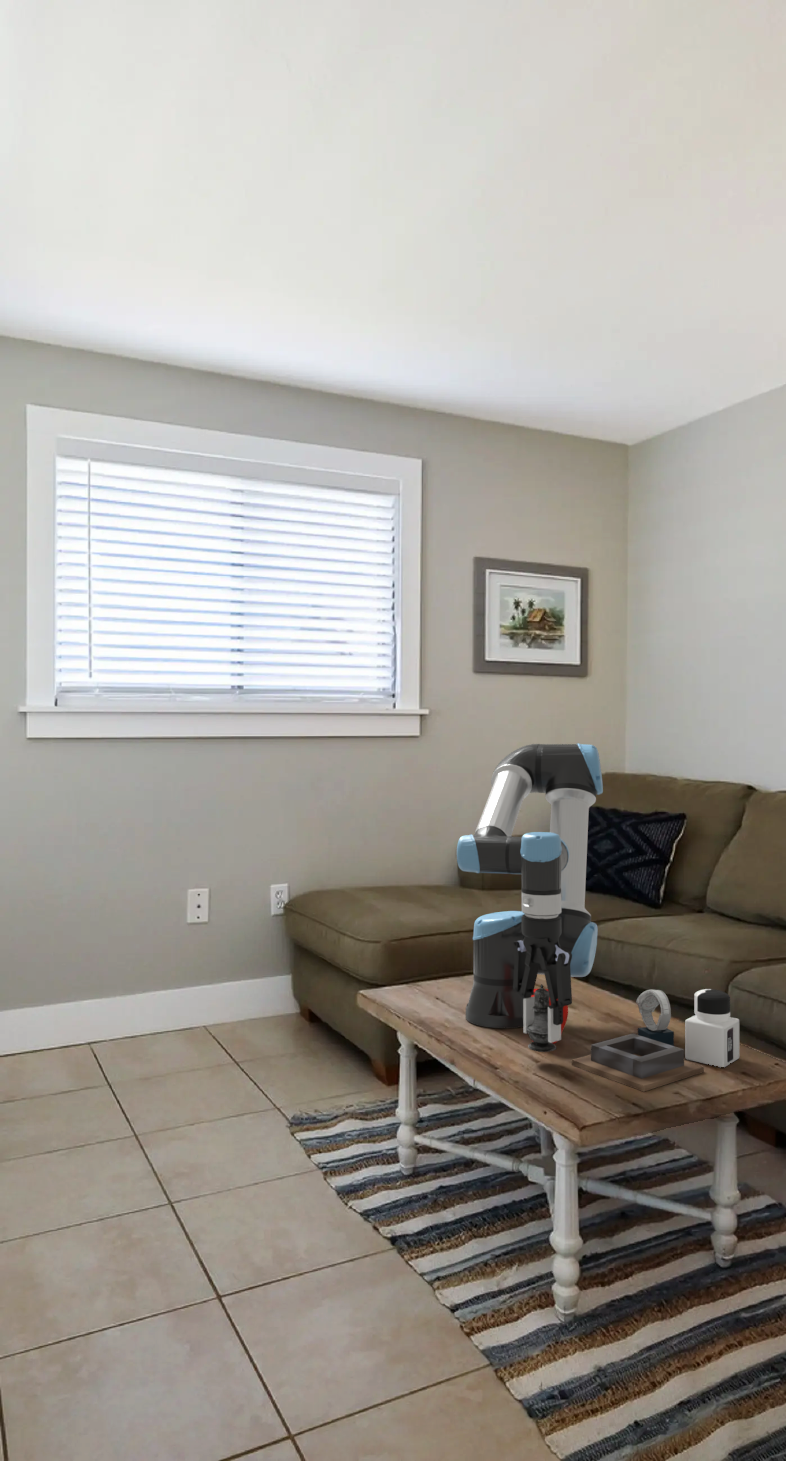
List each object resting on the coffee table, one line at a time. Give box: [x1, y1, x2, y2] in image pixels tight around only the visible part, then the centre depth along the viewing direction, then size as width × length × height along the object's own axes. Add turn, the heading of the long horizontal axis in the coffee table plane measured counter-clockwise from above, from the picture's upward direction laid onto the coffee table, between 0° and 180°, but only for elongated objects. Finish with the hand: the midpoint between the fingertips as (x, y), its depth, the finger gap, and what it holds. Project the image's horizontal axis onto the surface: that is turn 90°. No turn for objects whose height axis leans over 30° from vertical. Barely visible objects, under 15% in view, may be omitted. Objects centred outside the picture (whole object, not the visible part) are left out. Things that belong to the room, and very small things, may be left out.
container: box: [684, 988, 740, 1068], centre depth 184 cm, size 8×8×13 cm
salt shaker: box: [526, 984, 557, 1053], centre depth 181 cm, size 6×6×12 cm
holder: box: [571, 1033, 705, 1092], centre depth 178 cm, size 17×17×4 cm
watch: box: [635, 988, 675, 1046], centre depth 192 cm, size 6×8×11 cm
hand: (542, 1036), depth 181 cm, fingers closed on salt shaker, 6 cm apart
